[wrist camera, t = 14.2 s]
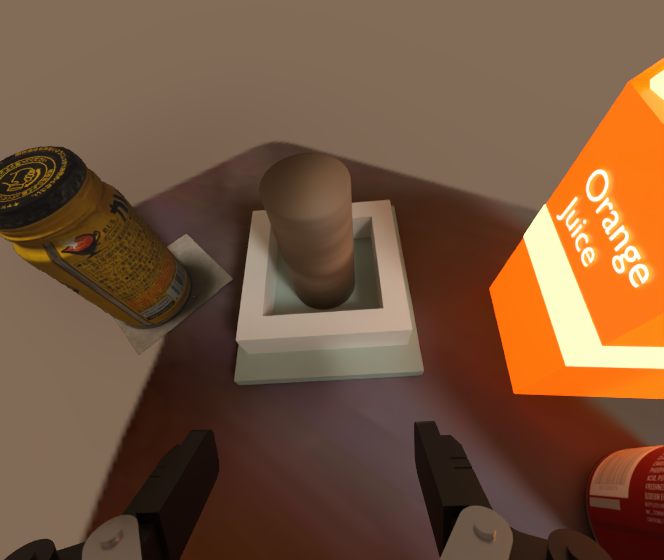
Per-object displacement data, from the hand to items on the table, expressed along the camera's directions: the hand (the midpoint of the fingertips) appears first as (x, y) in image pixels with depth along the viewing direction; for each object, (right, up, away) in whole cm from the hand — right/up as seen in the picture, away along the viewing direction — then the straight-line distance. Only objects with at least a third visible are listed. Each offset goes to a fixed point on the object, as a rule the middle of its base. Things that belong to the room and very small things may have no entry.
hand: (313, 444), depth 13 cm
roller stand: (0, +6, +12) cm, 13 cm away
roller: (0, +6, +11) cm, 13 cm away
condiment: (-13, +6, +13) cm, 19 cm away
